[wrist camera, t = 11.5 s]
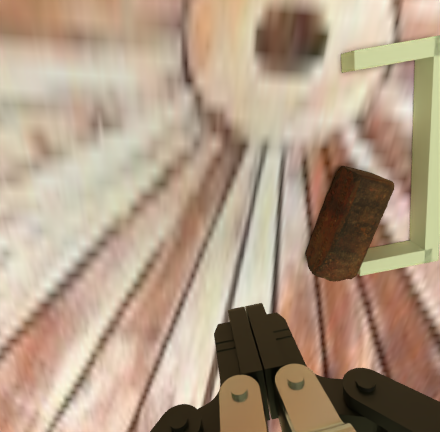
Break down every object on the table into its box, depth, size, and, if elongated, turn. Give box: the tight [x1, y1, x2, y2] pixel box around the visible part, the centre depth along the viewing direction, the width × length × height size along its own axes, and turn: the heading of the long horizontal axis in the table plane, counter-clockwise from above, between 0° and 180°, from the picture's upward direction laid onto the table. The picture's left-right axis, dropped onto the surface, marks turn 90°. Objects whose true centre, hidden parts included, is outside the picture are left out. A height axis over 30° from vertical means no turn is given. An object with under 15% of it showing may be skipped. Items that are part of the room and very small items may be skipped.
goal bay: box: [341, 35, 440, 276], centre depth 32 cm, size 8×21×2 cm, turn 9°
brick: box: [306, 166, 394, 281], centre depth 33 cm, size 11×4×5 cm, turn 166°
